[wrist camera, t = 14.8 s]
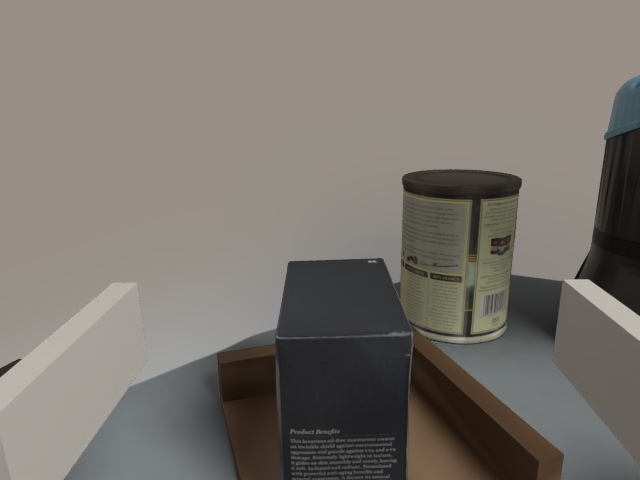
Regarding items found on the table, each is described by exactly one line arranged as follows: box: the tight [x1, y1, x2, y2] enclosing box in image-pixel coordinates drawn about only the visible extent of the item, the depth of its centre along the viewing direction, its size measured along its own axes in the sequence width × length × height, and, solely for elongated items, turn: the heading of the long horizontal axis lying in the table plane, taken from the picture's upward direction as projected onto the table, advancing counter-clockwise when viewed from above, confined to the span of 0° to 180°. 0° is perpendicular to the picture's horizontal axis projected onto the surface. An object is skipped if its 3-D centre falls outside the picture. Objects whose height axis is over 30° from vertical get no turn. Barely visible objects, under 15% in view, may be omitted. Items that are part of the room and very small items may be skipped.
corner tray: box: [217, 325, 564, 480], centre depth 30 cm, size 15×16×4 cm
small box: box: [275, 258, 414, 480], centre depth 27 cm, size 11×6×10 cm, turn 0°
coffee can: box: [400, 169, 522, 344], centre depth 46 cm, size 10×10×14 cm
